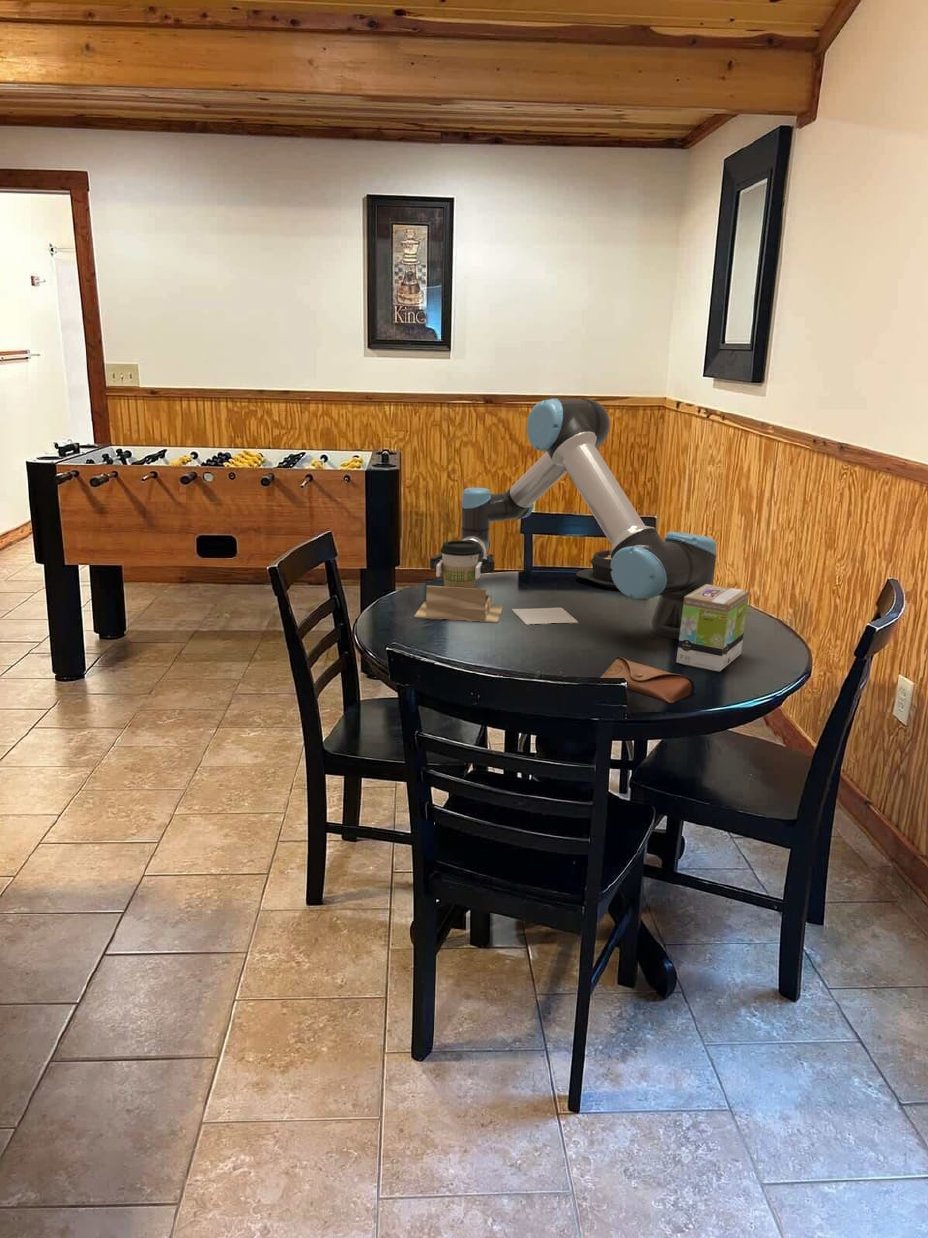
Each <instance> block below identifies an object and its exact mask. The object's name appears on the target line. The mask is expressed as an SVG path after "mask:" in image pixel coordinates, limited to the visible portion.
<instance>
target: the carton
mask: <svg viewBox="0 0 928 1238" xmlns="http://www.w3.org/2000/svg"><path fill="white" fill-rule="evenodd" d="M425 594H426V595H425V596H426V597H425V600H426V601H423V603H422V604H421V606H420V607H419V608H418V610H417V611H416V613H415V614H414V615H413V619H415V618H416V619H427V620H429V619H430V620H442V619H450V620H449V621H457V620H467V621H466V622H472V621H480V622H479V623H488V622H489V624H490V623H491V624H492V623H493V624H498V622H499V620H500V617H501V613H502V612H503V609H504V606H501V605H494V603H493V602H492V600H493V599H492V595H491V594H487V589H486V588H476V587H475V588H459V587H445V586H441V585H438V586H437V585H426V593H425Z"/></svg>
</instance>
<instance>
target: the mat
mask: <svg viewBox="0 0 928 1238" xmlns="http://www.w3.org/2000/svg"><path fill="white" fill-rule="evenodd" d="M511 611H512V612H513V613H514V614H515V615H516V616H517V617H518V618H519V619H520V621H521V622H522V623H523V624H526V625H525V626H531V625H530V624H533V625H534V624H541V625H551V624H550V623H569V624H579V621H578V620H577V619H576V618H574V617H573V616H572V615H571V614H570V613H569V612H567V611H566V609H564V608H563V607H543V608H542V607H539V608H511ZM548 623H549V624H548ZM533 625H532V626H533Z"/></svg>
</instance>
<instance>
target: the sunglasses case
mask: <svg viewBox="0 0 928 1238" xmlns="http://www.w3.org/2000/svg"><path fill="white" fill-rule="evenodd" d="M599 678H625V679H627V682H628V688H629V690H628V691H632V692H634V691H635V692H634V693H638V692H639V693H638V694H641V695H644V696H648V697H650V698H654V699H656V700H660V701H663V702H664V703H668V704H673V703H674V702H677V701H679V700H682V699H684V698H686V697H688V696H690V695H694V693H695V689H696V687H695V683H694V681H693V680H692V679H691V678H690V677H688V676H686V675H683V674H678V673H672V672H669V671H665V670H663V669H660V668H655V667H652V666H649V665H645V664H641V663H639V662H638V663H637V662H634V661H631V660H628V659H626V658H624V657H621V656H617V657H616V659H615V661H613V663H612V664H611V665H610V666H609V667H608V668H607V669H606V670H605V671H604V673H603V674H601V676H600V677H599Z"/></svg>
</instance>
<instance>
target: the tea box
mask: <svg viewBox="0 0 928 1238" xmlns="http://www.w3.org/2000/svg"><path fill="white" fill-rule="evenodd" d="M749 597H750V591H749V590H745V589H738V588H734V587H733V588H732V587H727V586H722V585H715V584H713V585H709V584H705V585H704V586H702V587H700V588H698V589H697V590H695V591H693V592H692V593H690V594H688V595H686V596H685V597H684V603H683V612H682V620H681V627H680V636H679V639H678V645H677V653H676V661H675V662H676V663H678V664H682V665H686V666H690V667H695V668H699V669H704V670H709V671H715V672H721V671H722V670H723V669H725V668H726V667H727V666H728V665H729V664H731V662H734V661H735V660H736V658H738V657H739V656H740V655H741V653H742V650H743V649H742V648H743V642H744V635H745V627H746V625H745V624H746V621H747V620H746V619H747V611H748V604H749Z"/></svg>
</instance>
